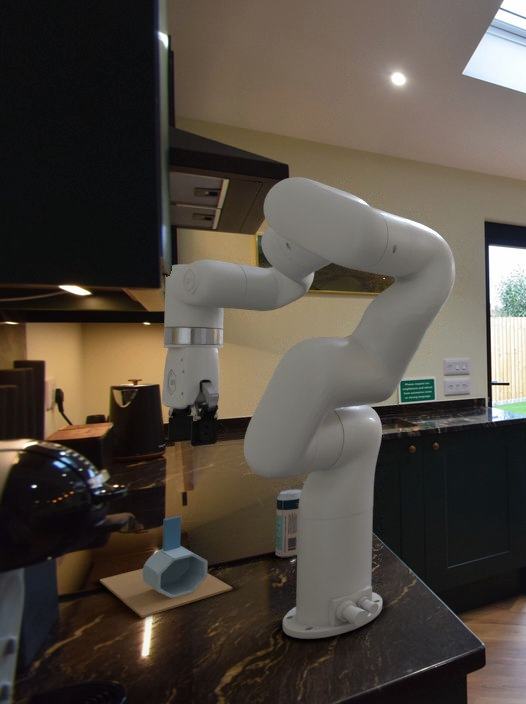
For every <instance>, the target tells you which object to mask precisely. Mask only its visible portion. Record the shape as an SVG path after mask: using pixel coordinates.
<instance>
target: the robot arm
mask: <svg viewBox="0 0 526 704" xmlns="http://www.w3.org/2000/svg"><path fill="white" fill-rule="evenodd" d="M263 201H264V202H263V215H264V219H265V222H266V224H267V225H268V227H267V229H266V230H265V231H264V232H263V234H262V236H261V239H260V241H261V242H260V245H261V250H262V252H263V255H264V257H265V258H266V260H267V261H268V263H269V264H270V265H271V266H270V267H261V266H255V265H249V264H244V263H238V262H229V261H223V260H217V259H206V258H205V259H199V260H195V261H192V262H191V263H187V264H185V263H179V264H173V265H171V266H172V271H171V274H170V276H168V277H166V276H165V279H164V280H165V284H164V286H165V287H164V326H163V348H165V349H167V351H166V356H165V363H164V369H163V370H164V371H163V381H162V395H161V404H163V406H164V407H167V408H169V409H168V412H167V413H168V420H167V421H168V423H167V426H168V427H167V440H168V441H169V442H176V441H185V440H190V446H192V447H200V446H201V447H202V446H209V445H215V444H217V441H218V439H217V438H218V419H219V414H218V410H219V405H218V404H219V401H220V391H221V390H220V389H221V388H220V387H221V386H220V384H221V383H220V381H221V377H220V376H221V375H220V358H219V349H224V316H225V314H224V313H225V312H224V311H225V310H224V309H233V310H235V309H236V310H245V311H256V312H270V311H275V310H278V309H281V308H284V307H286V306H288V305H290V304H292V303H294V302H296V301H297V300H300V299H301V298H303V297H304V296H306V294H307V293H308V292H309V290H310V289H311V286H312V284H313V282H314V277H315V272H317V271H318V270H321V269H322V268H324V267H327V266H328V265H330V264H335V265H338V266H340V267H343V268H347V269H350V270H355V271H360V272H365V273H371V274H374V275H375V274H377V275H382V276H386V277H387V276H388V277H393V278H394V282H393V283H392V284H391V285H390V286H388V287H387V288H385V289H384V290H382V291H381V292H380V293H379V294H378V295H377V296H375V297H374V299H372V300H371V302H370V303H369V304H368V306H367V307H366V308H365V310H364V312H363V314H362V316H361V319H360V320H359V322H358V324H357V325H356V327H355V329H354V330H353V331H352V333H350V335H347V336H343V337H337V336H336V337H334V336H333V337H332V336H319V337H318V336H317V337H311V338H307V339H303V340H302V341H301V340H300V341H299V342H297V343H296V344H294V345H293V346H291V347H290V348H289V349H288V350H287V351H286V352H285V353H284V354H283V356H282V357H281V359H280V360H279V362H278V364H277V366H275V369H274V371H273V373H272V375H271V378H270V379H269V381H268V383H267V386H266V387H265V389H264V391H263V394H262V396H261V397H260V400H259V402H258V404H257V406H256V408H255V410H254V411H253V415H252V417H251V418H250V420H249V423H248V424H247V425H248V426H247V428H246V432H245V435H244V439H243V455H244V460H245V462H246V464H247V466H248V468H249V469H250V470H251V471H252V472H253V473H254V474H256V475H257V476H259V477H261V478H265V479H270V480H279V479H280V480H281V479H287V478H293V477H297V476H302V475H305V474H307V475H308V476H307V477H306V479H305V481H304V483H303V485H302V488H301V489H302V491H301V495H300V499H299V511H298V546H297V556H296V593H295V594H296V597H295V606H294V607H293V608H292V609H290V610H289V611H288V612H287V613H286V614H285V615H284V617H283V618H282V631H283V632H284V634H285V635H287V636H288V637H289V636H290V637H292V638H295V639H303V640H315V639H322V638H329V637H335V636H339V635H343V634H345V633H348V632H351V631H354V630H356V629H359V628H360V627H361V628H362V627H363V626H365V625H367V624H368V623H370V622H372V621H373V620H374V619H376V618H377V617H378V616H379V615H380V613H381V611H382V609H383V598H382V596H381V595H380V594H378V593H376V592H373V586H372V575H373V574H372V572H373V571H372V568H373V566H372V565H373V563H372V562H373V518H374V517H373V516H374V512H373V511H374V489H375V488H374V487H375V475H376V474H375V473H376V466H377V461H378V457H379V452H380V447H381V443H382V438H383V437H382V435H383V427H382V421H381V418H380V416H379V415H378V413H377V411H376V410H375V409H373V407H371V405H374V404H379V403H382V402H385V401H387V400H389V399H390V398H391V397H392V396H393V395H394V394H395V393H396V391H397V389H398V388H399V386H400V384H401V382H403V379H404V377H405V375H406V373H407V372H408V370H409V368H410V366H411V364H412V362H413V361H414V359H415V357H416V354H417V353H418V351H419V350H420V347H421V345H422V344H423V341H424V338H425V337H426V335H427V334H428V331H429V329H430V328H431V327H432V325H433V323H434V321H435V320H436V319H437V317H438V316H439V314H440V313H441V312H442V310H443V308H444V307H445V305H446V304H447V302H448V300H449V297H450V296H451V293H452V291H453V288H454V286H455V280H456V262H455V257H454V254H453V250H452V249H451V247H450V244H448V242H447V241H446V240H445V238H443V236H441V234H440V233H438V232H437V231H435V230H434V229H432V228H430V227H429V226H426V225H425V224H423V223H420V222H417V221H414V220H412V219H408V218H406V217H403V216H400V215H396V214H394V213H391V212H388V211H384V210H382V209H379V208H376V207H373V206H371V205H369V204H368V203H367V202H366V201H365V200H364V199H362V198H361V197H359V196H356V195H355V194H353V193H350V192H347V191H345V190H341V189H340V188H336V187H333V186H330V185H328V184H326V183H322V182H320V181H317V180H314V179H310V178H307V177H303V176H293V177H292V176H291V177H288V178H284V179H282V180H280V181H279V182H277V183H276V184H274V185H273V186H272V187H271V188H270V189H269V191H268V193H266V196H265V198H264V200H263Z"/></svg>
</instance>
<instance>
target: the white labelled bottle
mask: <svg viewBox="0 0 526 704" xmlns="http://www.w3.org/2000/svg"><path fill="white" fill-rule="evenodd" d="M301 491H302V488H292V489H286V490H282V491H280V492H279V493H278V495H277V497H276V515H275V517H276V520H275V521H276V522H275V555H276V556H277V557H280V558H282V559H283V558H284V559H285V558H287V559H288V558H293V557H297V546H298V511H299V499H300V495H301Z"/></svg>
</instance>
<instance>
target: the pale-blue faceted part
mask: <svg viewBox="0 0 526 704" xmlns="http://www.w3.org/2000/svg"><path fill="white" fill-rule="evenodd" d="M162 522H163V523H162V548H161V549H159V550H157V551H156V552H154V553H153V554H152V555H151V556H150V557H148V559H147V560H146V561H145V563H144V565H143V568H142V569H143V581H144V582H145V583H147V584H148V585H149V586H151V587H152V588H153V589H155V590H156V591H157V592H159V593H161V594H163V595H165V596H168V597H170V598H176V597H179V596H183V595H186V594H189V593H192V592H194V591H195V590H196V588H197V587H198V586H199V585H200V584H201V583H202V582H203V581H204V580H205V579H206V578H207V573H208V564H209V563H208V560H207V559H205V558H203V557H202V556H199V555H198V554H196V553H194V552H192V551H190V550H189V549H188V548H185V547H184V546H181V533H182V532H181V531H182V517H181V516H179V515H176V516H173V517H167V518H163V520H162Z"/></svg>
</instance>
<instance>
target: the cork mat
mask: <svg viewBox="0 0 526 704" xmlns="http://www.w3.org/2000/svg"><path fill="white" fill-rule="evenodd" d="M99 583H101V584H102V585H103V586H104V587H105V588H106V589H107V590H109V591H110V592H111V593H112V594H113V595H114V596H115V597H117V599H119V600H120V601H121V602H122V603H123V604H125V605H126V606H127V607H129V609H131V610H132V611H133V612H134V613H136V615H138V616H139V617H140V618H141V619H143V618H147V617H149V616H152V615H155V614H159V613H162V612H165V611H168V610H173V609H175V608H178V607H181V606H185V605H189V604H191V603H194V602H198V601H201V600H205V599H207V598H211V597H213V596H217V595H221V594H224V593H226V592H229V591H232V590H233V587H232V586H231V585H229V584H228V583H226V582H224V581H222V580H221V579H218V578H217V577H215V576H214V575H212V574H210V573H209V572H207V578H206V579H205V580H204V581H203V582H202V583H201V584H200V585H199V586H198V587H197V588H196V590H195V591H194V592H192V593H189V594H186V595H183V596H179V597H176V598H170V597H168V596H165V595H163V594H161V593H159V592H157V591H156V590H155V589H153V588H152V587H151V586H149V585H148V584H147V583H145V582H144V581H143V568H139V569H136V570H132V571H128V572H124V573H120V574H117V575H112V576H108V577H103V578H100V579H99Z"/></svg>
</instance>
